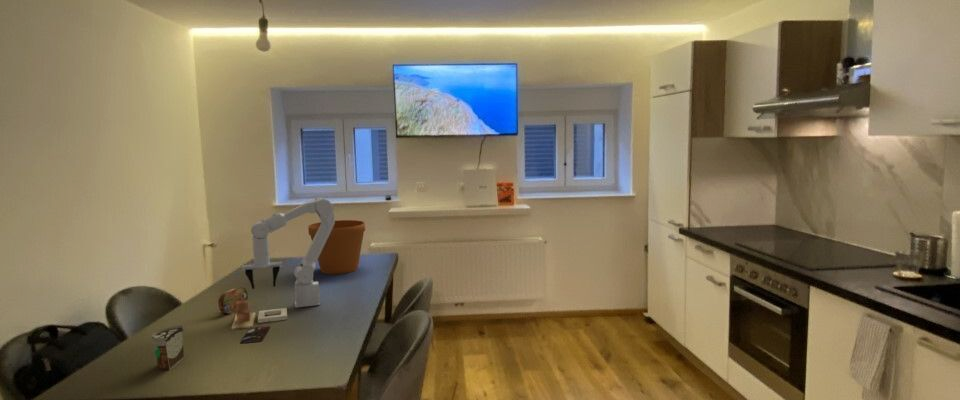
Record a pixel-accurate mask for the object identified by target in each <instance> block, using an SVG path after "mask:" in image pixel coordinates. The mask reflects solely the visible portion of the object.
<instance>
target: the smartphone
mask: <svg viewBox="0 0 960 400" xmlns="http://www.w3.org/2000/svg"><path fill="white" fill-rule="evenodd" d="M270 329H271V326H269V325H267V326H256V327H255V326H253V327H250V328H248V329H247V330H246V333H245V334H244V336H243V337H242V339H241V340H240V342H239V344H240V345H242V344H243V345H244V344H254V343H262V342H263V341H264V339H265V338H266V337H267V334H268V333H269V331H270Z"/></svg>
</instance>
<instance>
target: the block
mask: <svg viewBox="0 0 960 400" xmlns="http://www.w3.org/2000/svg"><path fill="white" fill-rule="evenodd" d="M236 309H237V311H236V315H237V322H245V321H250V313H251V311H250V300H249V299H248V300H241V301H237V303H236Z"/></svg>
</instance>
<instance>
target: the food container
mask: <svg viewBox="0 0 960 400" xmlns="http://www.w3.org/2000/svg"><path fill="white" fill-rule="evenodd" d="M184 332H185V329H184V325H181V324H180V325H175V326H170V327H169V326H168V327H166V328H165V327H164V328H162V329H160V330H157V331H155V332H154V333H153V334H152V336H151V340H150V343H151V345H153V347H154V353H155V357H156V363H157V368H158V369H159V370H161V371H171V370H172V369H173V368H174V367H175V366H177V364H179V363H180V362H181V361H182V360H183V359H184V358H185V341H184V339H185V338H184Z"/></svg>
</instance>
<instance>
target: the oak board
mask: <svg viewBox="0 0 960 400" xmlns="http://www.w3.org/2000/svg"><path fill="white" fill-rule="evenodd" d="M256 314H257V312H250V321H245V322H237V314H235V317H234V319H233V323H232V325H231V328H230V329H231V330H232V331H234V330H240V329H241V330H242V329H247V328H248V329H249V328H254V324H255V318H256Z"/></svg>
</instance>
